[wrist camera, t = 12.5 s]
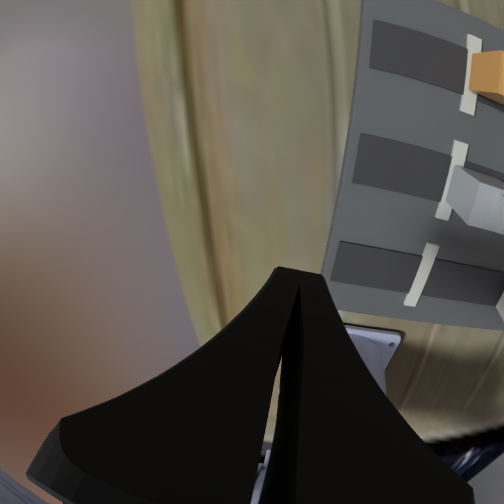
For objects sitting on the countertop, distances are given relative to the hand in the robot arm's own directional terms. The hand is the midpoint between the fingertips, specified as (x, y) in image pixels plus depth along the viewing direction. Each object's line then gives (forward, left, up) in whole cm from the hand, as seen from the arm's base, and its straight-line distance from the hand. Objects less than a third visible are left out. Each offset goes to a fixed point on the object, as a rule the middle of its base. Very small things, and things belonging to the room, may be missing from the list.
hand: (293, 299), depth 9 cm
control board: (+3, -11, -10) cm, 15 cm away
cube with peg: (+3, -9, -9) cm, 13 cm away
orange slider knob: (+9, -9, -9) cm, 15 cm away
